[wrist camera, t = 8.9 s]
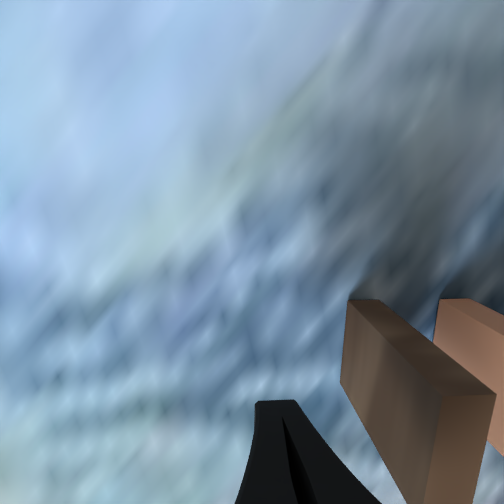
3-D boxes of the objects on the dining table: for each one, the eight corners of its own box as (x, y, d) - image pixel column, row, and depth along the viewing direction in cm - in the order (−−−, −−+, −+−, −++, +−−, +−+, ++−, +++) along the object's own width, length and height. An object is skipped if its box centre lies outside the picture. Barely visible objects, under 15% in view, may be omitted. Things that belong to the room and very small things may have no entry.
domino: (379, 299, 16) (496, 394, 9) (369, 381, 17) (467, 522, 10) (347, 300, 15) (442, 396, 9) (339, 382, 17) (419, 526, 10)
